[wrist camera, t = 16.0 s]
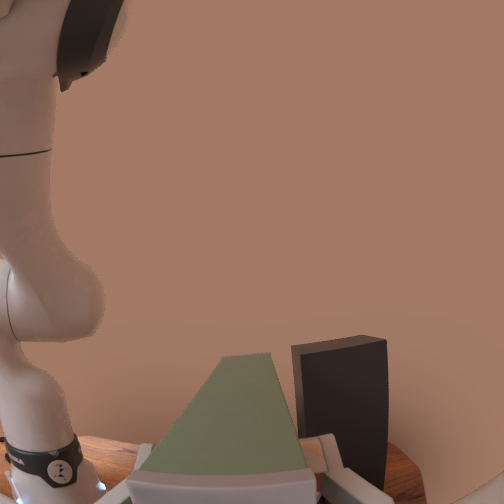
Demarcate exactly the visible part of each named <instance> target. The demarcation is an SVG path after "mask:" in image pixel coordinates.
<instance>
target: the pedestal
mask: <svg viewBox="0 0 504 504" xmlns="http://www.w3.org/2000/svg"><path fill="white" fill-rule="evenodd" d="M291 350H292V361H293V373H294V384H295V398H296V411H297V425H298V438H299V439H302V438H307V437H313V436H320V435H325V434H330V433H332V434H333V435H334V437H335V440H336V443H337V447H338V450H339V453H340V457H341V460H342V463H343V467H344V468H349V469H351V470H352V471H353V472H355V473H356V474H358V475H359V476H360V477H362V478H363V479H365V480H366V481H367V482H369V483H370V484H372V485H373V486H375V487H376V488H378V489H379V490H381V491H382V492H383V488H384V479H385V469H386V457H387V440H388V411H389V409H388V408H389V406H388V405H389V400H388V399H389V396H388V395H389V394H388V393H389V392H388V390H389V388H388V359H387V341H386V340H385V339H381V338H375V337H371V336H366V335H358V336H353V337H347V338H341V339H335V340H329V341H322V342H315V343H308V344H301V345H293V346H291ZM321 504H323V502H322V499H321Z"/></svg>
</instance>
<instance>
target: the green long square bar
mask: <svg viewBox="0 0 504 504" xmlns="http://www.w3.org/2000/svg"><path fill="white" fill-rule="evenodd" d="M125 482H126V485H127V488H128V491H129V494H130V497H131V500H132V502H133V504H317V483H316V478H315V475H314V472H313V470H312V468H309V467H308V464H307V462H306V459H305V456H304V453H303V450H302V447H301V444H300V441H299V438H298V436H297V433H296V430H295V427H294V424H293V421H292V418H291V415H290V412H289V409H288V406H287V404H286V400H285V397H284V394H283V391H282V388H281V385H280V382H279V379H278V376H277V373H276V371H275V367H274V364H273V361H272V359H271V353H270V352H265V353H254V354H242V355H231V356H222V359H221V361H220V362H219V364H218V365H217V366H216V368H215V369H214V370H213V372H212V373H211V375H210V376H209V377H208V379H207V380H206V381H205V383H204V384H203V385H202V387H201V388H200V390H199V391H198V392H197V394H196V395H195V397H194V398H193V399H192V400H191V402H190V403H189V404H188V406H187V407H186V408H185V410H184V411H183V412H182V414H181V415H180V416H179V418H178V419H177V420H176V422H175V423H174V424H173V425H172V427H171V428H170V429H169V431H168V432H167V433H166V435H165V436H164V437H163V438H162V440H161V441H160V442H159V444H158V445H157V446H156V447H155V449H154V450H153V451H152V452H151V454H150V455H149V456H148V457H147V459H146V460H145V461H144V463H143V464H142V465H141V466H140V468H139V469H138V470H133V471H132V472H131V473H130V474H129V475H128V476H127V478H126V479H125Z"/></svg>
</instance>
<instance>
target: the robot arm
mask: <svg viewBox="0 0 504 504" xmlns="http://www.w3.org/2000/svg"><path fill="white" fill-rule="evenodd" d="M131 8H132V0H0V253H1V254H2V255H3V257H4V258H5V259H0V421H1V424H2V427H3V430H4V434H5V437H1V438H0V442H2V441H5V445H6V450H7V453H6V454H5V458H6V460H7V461H8V462H9V463H10V464H11V471H4V473H5V476H6V478H7V481H8V483H10V485H11V490H12V495H13V500H12V499H11V498H9V497H7V496H6V495H4V494H2V493H1V492H0V504H133V502H132V500H131V497H130V494H129V491H128V488H127V485H126V482H125V479H126V478H127V477H126V478H125V479H123V480H122V481H121V482H120V483H119V484H117V485H116V486H115V487H114V488H113V489H111V490H110V491H108V490H106V488H105V486H104V484H102V483H101V482H100V479H99V477H98V475H97V472H96V470H95V468H94V465H93V464H92V463H91V462H89V461H88V460H87V459H84V458H83V455H82V451H81V446H80V443H79V441H78V439H77V436H76V434H75V433H74V432H73V430H72V426H71V422H70V418H69V414H68V409H67V404H66V399H65V395H64V391H63V389H62V387H61V386H60V384H59V383H58V381H57V380H56V379H55V378H54V377H53V376H51V375H50V374H49V373H47V372H46V371H44V370H42V369H40V368H38V367H36V366H35V365H33V364H32V363H30V362H29V361H28V359H27V358H26V357H25V355H24V353H23V351H22V349H21V345H20V342H21V341H25V342H67V341H72V340H77V339H81V338H85V337H89V336H92V335H93V334H94V333H95V332H96V331H97V329H98V328H99V326H100V324H101V322H102V319H103V316H104V310H105V295H104V291H103V287H102V285H101V282H100V280H99V278H98V277H97V275H96V274H95V272H94V271H93V270H92V269H91V268H90V267H89V266H88V265H86V264H85V263H83V262H82V261H80V260H79V259H78V258H77V257H76V256H75V255H74V254H73V253H72V252H71V251H70V250H69V249H68V248H67V246H66V245H65V243H64V242H63V241H62V239H61V237H60V235H59V233H58V231H57V229H56V226H55V223H54V220H53V217H52V212H51V204H50V164H51V152H52V143H53V132H54V121H55V108H56V91H57V89H56V88H57V76H58V77H59V83H60V89H61V92H63V91H66V90H68V89H69V87H70V85H71V83H72V81H74V80H77V79H80V78H82V77H85V76H87V75H89V74H90V73H91V72H93V71H94V70H95V69H97V68H98V67H99V66H101V65H102V64H103V63H104V62H105V61H106V58H107V56H108V55H109V54H110V53H111V52H112V51H113V49H114V48H115V47H116V45H117V44H118V42H119V41H120V39H121V38H122V36H123V34H124V32H125V30H126V27H127V25H128V23H129V19H130V15H131ZM299 441H300V444H301V447H302V450H303V453H304V456H305V459H306V462H307V464H308V467H309V468H312V470H313V472H314V475H315V478H316V483H317V492H320V494H321V495H323V496H324V497H325V498H326V499H327V500H328V501H329V502H330V503H331V504H395V503H394V501H393V498H392V497H390V496H388V495H387V494H385V493H384V492H382V491H381V490H379V489H378V488H376V487H375V486H373V485H372V484H370V483H369V482H367V481H366V480H365V479H363V478H362V477H360V476H359V475H358V474H356V473H355V472H353V471H352V470H351V469H349V468H344V467H343V463H342V460H341V457H340V453H339V450H338V447H337V443H336V440H335V437H334V435H333V434H332V433H330V434H325V435H320V436H313V437H307V438H302V439H299ZM157 445H158V444H152V443H142V444H141V445H140V446H139V450H138V454H137V457H136V461H135V465H134V469H133V470H138V469H139V468H140V466H141V465H142V464H143V463H144V461H145V460H146V459H147V457H148V456H149V455H150V454H151V452H152V451H153V450H154V449H155V447H156V446H157ZM9 457H10V458H9ZM452 504H504V471H503V472H502V473H500V474H499V475H498V476H496V477H494V478H493V479H492V480H490V481H489V482H487V483H486V484H484V485H483V486H481V487H479V488H478V489H476V490H475V491H473V492H471V493H470V494H468V495H466V496H465V497H463V498H461V499H459V500H458V501H456V502H454V503H452Z"/></svg>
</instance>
